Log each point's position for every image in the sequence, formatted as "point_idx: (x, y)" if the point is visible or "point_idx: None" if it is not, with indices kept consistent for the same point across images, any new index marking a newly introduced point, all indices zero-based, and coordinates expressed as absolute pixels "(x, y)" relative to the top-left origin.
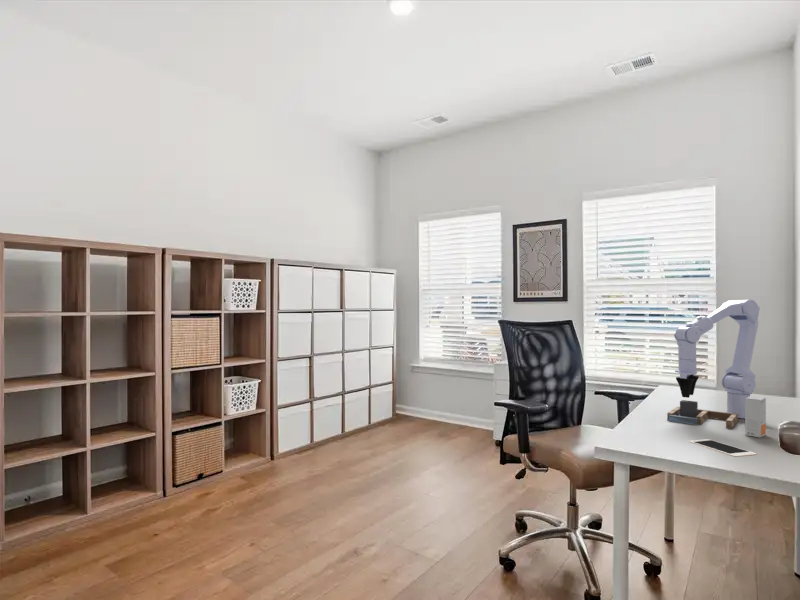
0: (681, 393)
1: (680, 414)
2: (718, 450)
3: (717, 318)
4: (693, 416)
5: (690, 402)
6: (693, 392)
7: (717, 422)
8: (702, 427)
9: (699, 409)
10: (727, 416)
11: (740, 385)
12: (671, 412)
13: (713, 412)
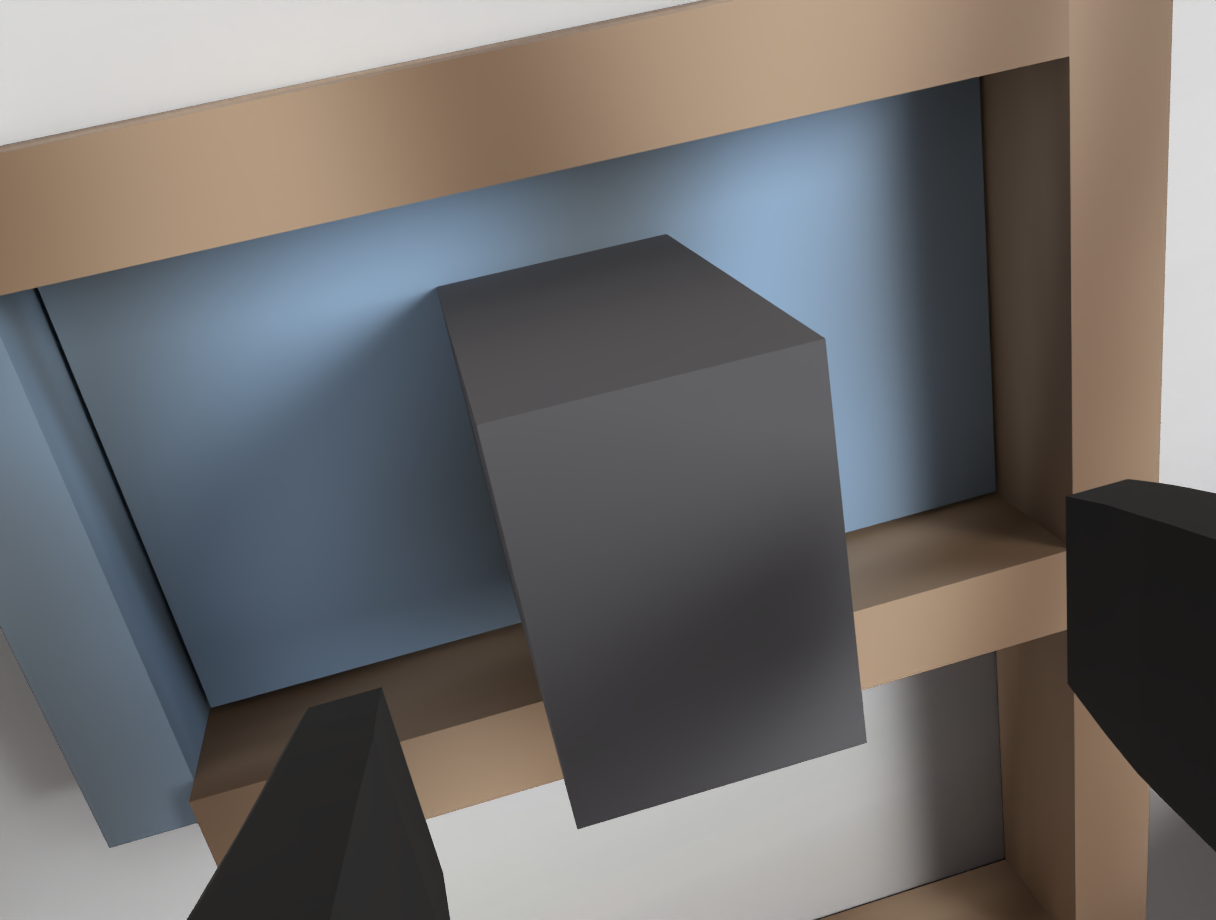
0: (266, 788)
1: (444, 314)
2: None
3: None
4: (509, 574)
5: (560, 710)
6: (1158, 766)
7: (693, 818)
8: (3, 907)
9: (1131, 450)
10: (1037, 853)
11: None
12: (127, 212)
13: (1060, 700)
